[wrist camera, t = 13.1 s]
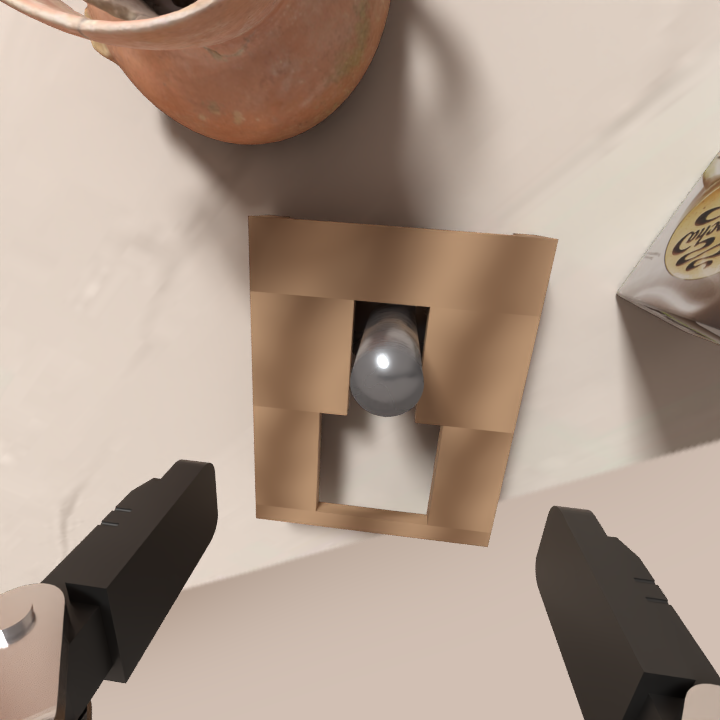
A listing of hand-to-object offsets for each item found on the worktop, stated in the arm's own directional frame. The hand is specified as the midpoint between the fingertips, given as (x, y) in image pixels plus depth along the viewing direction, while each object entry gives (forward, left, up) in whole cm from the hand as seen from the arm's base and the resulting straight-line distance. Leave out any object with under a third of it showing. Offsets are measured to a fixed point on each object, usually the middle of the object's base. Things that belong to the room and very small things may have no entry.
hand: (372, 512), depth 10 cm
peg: (0, 0, -18) cm, 18 cm away
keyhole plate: (0, +4, -18) cm, 19 cm away
